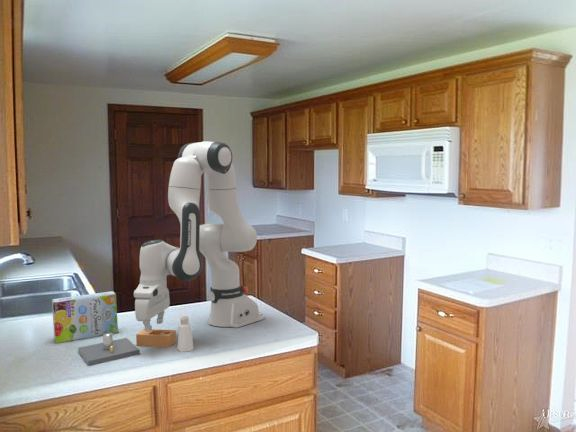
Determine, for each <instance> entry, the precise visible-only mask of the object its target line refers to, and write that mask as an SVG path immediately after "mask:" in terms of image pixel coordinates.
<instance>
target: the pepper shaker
mask: <svg viewBox="0 0 576 432" xmlns="http://www.w3.org/2000/svg"><path fill="white" fill-rule="evenodd" d="M189 318H190V317H189V316H186V315H185V316H181V317H180V318H179V320H180V324H179V325H178V335H177V336H178V337H177V347H176V349H177V351H178V352H181V353H186V352H190V351H192V350H194V342H193V341H194V340H193V333H192V327H191V324H190V322H189V321H190V320H189Z"/></svg>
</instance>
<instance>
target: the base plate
mask: <svg viewBox="0 0 576 432" xmlns="http://www.w3.org/2000/svg"><path fill="white" fill-rule="evenodd" d="M113 346H114V352H113V353H110V350H104V347H103V342H100V343H95V344H90V345H86V346H81V347H78V348H77V352H78V353H79V355H80V356H81V358H82V360H84V362H85V363H86V364H87V366H94V365H98V364H102V363H107V362H111V361H115V360H119V359H123V358H128V357H133V356H137V355H140V348H138V346H137V345H135V344H134V343H133V342H132V341H130V340H129V339H128V338H127V337H123V338H119V339H113Z"/></svg>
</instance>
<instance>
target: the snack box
mask: <svg viewBox="0 0 576 432" xmlns="http://www.w3.org/2000/svg"><path fill="white" fill-rule="evenodd" d="M117 307H118V306H117V293H116V292H114V290H112V291H106V292H105V291H104V292H98V293H89V294H81V295H75V296H68V297H67V296H65V297H59V298H58V297H57V298H53V299H51V308H52V309H51V311H52V322H53V323H52V325H53V326H52V327H53V336H54V337H53V338H54V342H55V344H60V343H64V342H65V343H66V342H72V341H78V340H81V339H82V340H84V339H88V338H94V337H95V338H96V337H101V336H103V334H104V333H109V332H110V333H113V334H117V333H119V325H118V322H119V321H118V310H117V309H118V308H117Z"/></svg>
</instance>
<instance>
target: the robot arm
mask: <svg viewBox="0 0 576 432" xmlns="http://www.w3.org/2000/svg"><path fill="white" fill-rule="evenodd" d="M204 173H206V175H207V196H208V197H207V199H208V202H207V204H208V208H209V210H210V211H211V212H212V213H213V214H215V215H216V216H219V218H221V220H222V222H223V223H203V224H201V219H200V218H201V217H200V197H201V188H202V183H201V182H202V175H203V174H204ZM169 175H170V176H169V180H168V181H169V182H168V188H167V189H168V191H167V201H168V206H169V207H170V210H172V212H173V213H174V214H175V215H176V216H177V218H178V221H179V224H180V237H179V243H180V244H179V245H180V246H179V247H178V246H173V245H171V244H168V243H167V242H165V241H164V240H162V239H154V240H153V239H152V240H148V241H145V242H143V244H142V245H141V247H140V251H139V270H140V277H139V284H138V286H137V287H136V289H134V290H133V297H134V298H135V300H134V310H135V311H134V313H135V314H134V315H135V319H136V321H137V322H142V324H143V326H144V329H145V331H146V332H150V331H151V330H152V329H153V328H152V325H151V323H150V322H151V319H152V318H154V317H155V316H157V318H156V324H157V325H161V324H163V323H164V317H165V310H167V309H168V308H170V304H171V301H170V290H169V288H168V287H167V282H168V281H167V277H168V276H169V275H171V276H173V277H176V278H177V279H179V280H180V281H182V282H192V281H193V280H195V279H197V278H198V277H199V276H200V275H201V273H202V271H203V267H204V263H203V258H202V255H203V257H205V259H206V261H207V263H208V266H209V270H210V278H211V280H210V283H211V284H210V285H211V286H210V294H209V295H210V302H211V303H210V312H209V318H208V321H207V322H208V323H207V324H209V325H211V326H214V327H219V328H220V327H222V328H223V327H224V328H226V327H227V328H240V327H244V326H247V325H249V324H253V323H256V322H258V321H262V320H264V319H265V315H264V313H262V312H260V311H259V305H258V303H257V302H256V301H255V300H254V299H252V298H250V297H249V296H247V294H245V293H248V292H249V287H248V286H245V285H244V286H243V285H241V284H240V282H241V281H240V267H239V265H238V264H237V263H236V262H235V261H233V260H231V259H229V257H227V255H226V253H228V252H229V253H242V252H249V251H252V250H253V249H254V248H255V247H256V245H257V241H258V234H257V231H256V229H255V228H254V227H253V226H252V225H251V224H249V222H247V220H245V219H244V217H243V214H242V213H241V211H240V208H239V203H238V189H237V187H238V186H237V178H236V177H237V176H236V171H235V167H234V164H233V152H232V150H231V148H230V146H229V144H227V143H225V142H221V141H207V140H206V141H203V140H202V141H201V142H199V141H198V142H189V143H185V144H184V145H182V146H181V147H180V149H179V152H178V155H177V159H175V160H174V161H173V165H172V168H171V171H170V174H169ZM201 254H202V255H201Z"/></svg>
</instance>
